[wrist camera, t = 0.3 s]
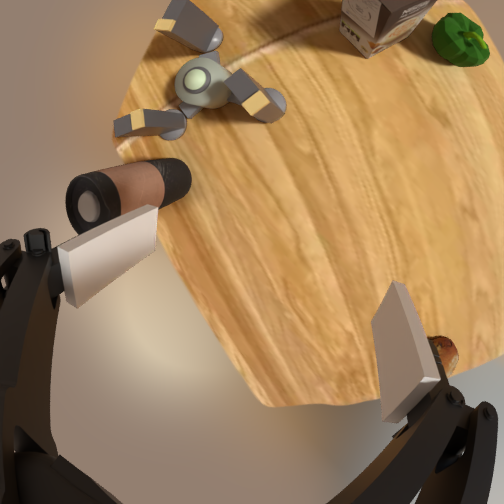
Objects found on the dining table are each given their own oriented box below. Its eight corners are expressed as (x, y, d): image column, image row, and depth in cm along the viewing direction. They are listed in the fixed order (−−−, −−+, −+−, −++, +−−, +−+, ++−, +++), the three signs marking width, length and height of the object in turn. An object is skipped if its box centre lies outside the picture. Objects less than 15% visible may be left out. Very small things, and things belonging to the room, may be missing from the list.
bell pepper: (418, 24, 23) (438, -2, 14) (459, 31, 20) (485, 11, 11) (433, 70, 25) (460, 53, 16) (474, 75, 23) (506, 64, 14)
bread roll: (411, 360, 48) (417, 393, 43) (410, 344, 42) (418, 383, 36) (450, 345, 44) (458, 377, 39) (455, 326, 38) (467, 364, 33)
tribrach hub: (194, 52, 33) (173, 40, 27) (261, 56, 32) (249, 41, 26) (179, 117, 38) (156, 114, 32) (244, 127, 37) (229, 124, 31)
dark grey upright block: (200, 24, 31) (162, -3, 20) (228, 29, 31) (194, -3, 20) (188, 50, 33) (145, 28, 23) (215, 55, 33) (177, 31, 22)
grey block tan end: (243, 103, 35) (211, 89, 24) (271, 82, 33) (249, 58, 22) (264, 129, 36) (240, 123, 25) (293, 109, 34) (280, 93, 23)
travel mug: (148, 170, 43) (57, 195, 26) (180, 147, 40) (87, 160, 23) (167, 208, 45) (83, 251, 27) (201, 188, 42) (117, 224, 24)
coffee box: (367, 61, 28) (390, 15, 14) (337, 30, 27) (340, -27, 13) (409, 37, 24) (445, -9, 10) (380, 7, 23) (400, -48, 9)
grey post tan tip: (161, 143, 40) (113, 147, 30) (158, 114, 39) (109, 111, 28) (188, 136, 39) (143, 137, 28) (184, 106, 37) (139, 98, 27)
